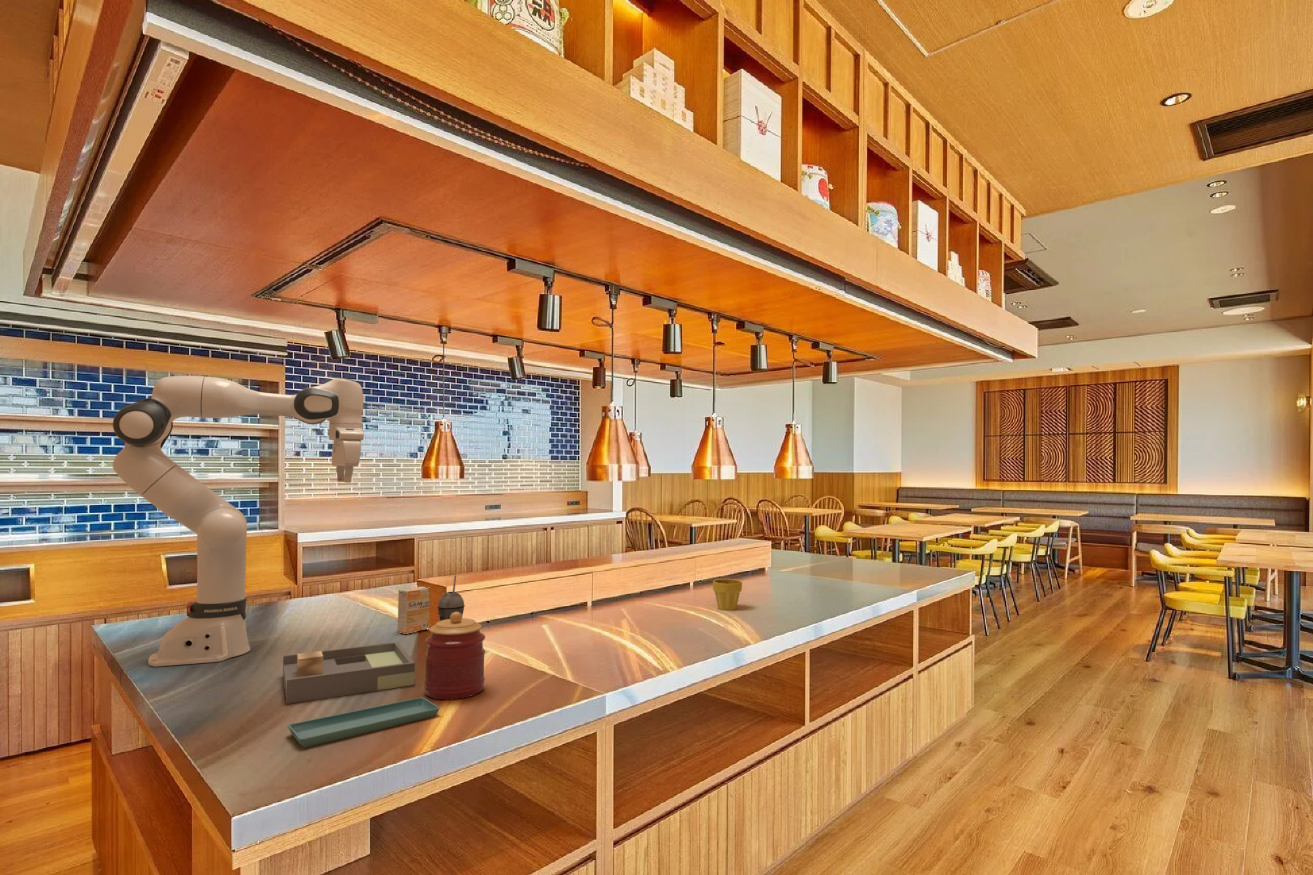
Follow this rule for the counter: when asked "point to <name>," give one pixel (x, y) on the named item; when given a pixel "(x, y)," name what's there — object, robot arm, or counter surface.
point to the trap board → (350, 672)
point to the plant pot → (727, 593)
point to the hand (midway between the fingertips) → (344, 482)
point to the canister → (454, 659)
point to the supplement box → (413, 609)
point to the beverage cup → (450, 604)
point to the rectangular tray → (361, 721)
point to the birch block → (309, 664)
